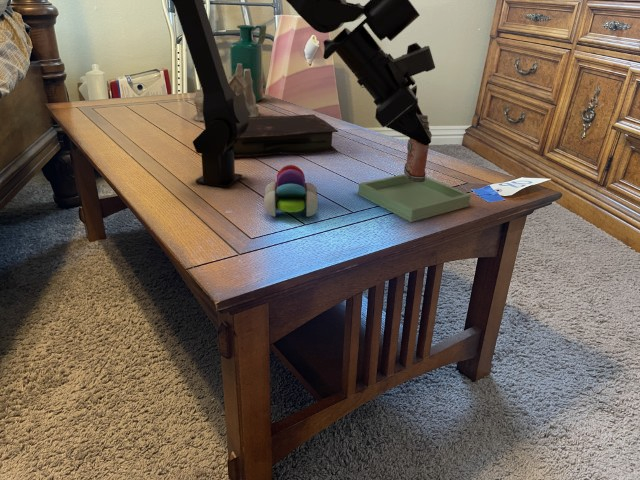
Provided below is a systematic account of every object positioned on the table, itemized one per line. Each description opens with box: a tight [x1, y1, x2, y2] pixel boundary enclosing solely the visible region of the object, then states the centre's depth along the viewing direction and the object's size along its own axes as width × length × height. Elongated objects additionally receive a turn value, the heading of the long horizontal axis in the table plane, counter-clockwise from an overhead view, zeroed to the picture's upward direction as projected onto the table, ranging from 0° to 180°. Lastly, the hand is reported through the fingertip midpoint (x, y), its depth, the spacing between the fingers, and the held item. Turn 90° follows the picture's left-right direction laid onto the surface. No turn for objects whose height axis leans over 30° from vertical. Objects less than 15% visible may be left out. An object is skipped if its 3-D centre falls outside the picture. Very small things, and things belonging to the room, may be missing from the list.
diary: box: [234, 113, 339, 157], centre depth 115 cm, size 19×25×5 cm
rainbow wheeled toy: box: [263, 164, 319, 218], centre depth 81 cm, size 8×10×7 cm
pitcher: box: [229, 24, 267, 103], centre depth 156 cm, size 10×8×22 cm
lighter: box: [403, 114, 433, 183], centre depth 85 cm, size 8×3×10 cm, turn 178°
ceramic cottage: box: [193, 64, 260, 123], centre depth 136 cm, size 16×16×15 cm
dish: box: [357, 173, 472, 223], centre depth 89 cm, size 14×14×2 cm
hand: (428, 137), depth 84 cm, fingers closed on lighter, 8 cm apart
